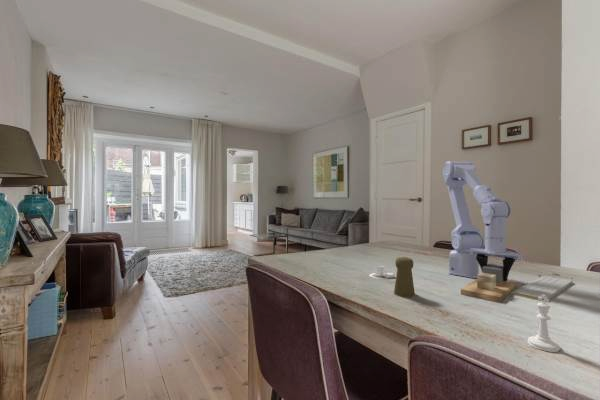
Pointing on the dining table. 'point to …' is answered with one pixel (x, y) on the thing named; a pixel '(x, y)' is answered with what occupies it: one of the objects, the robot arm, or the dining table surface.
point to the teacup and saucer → (381, 272)
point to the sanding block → (495, 272)
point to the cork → (404, 277)
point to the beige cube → (486, 281)
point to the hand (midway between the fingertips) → (495, 278)
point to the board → (489, 291)
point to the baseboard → (543, 287)
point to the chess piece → (543, 330)
